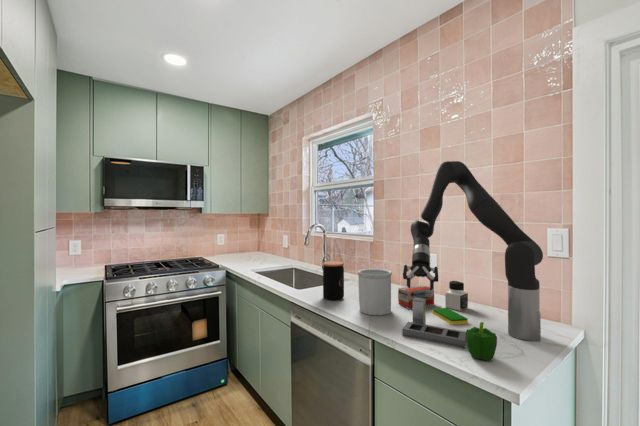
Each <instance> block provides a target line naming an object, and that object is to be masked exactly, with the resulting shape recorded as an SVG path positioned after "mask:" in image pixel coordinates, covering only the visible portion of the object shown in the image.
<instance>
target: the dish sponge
mask: <svg viewBox="0 0 640 426" xmlns="http://www.w3.org/2000/svg"><path fill="white" fill-rule="evenodd" d="M432 314H433V316H436V317H438V318H439V319H441V320H443V321H444V322H446V323H448V324H450V325H451V326H456V325H467V324H468V323H469V321H468V319H469V318H468V317H465V316H463V314H460V313H458V312H455V311H454V310H453V309H450V308H446V307H443V308H432Z"/></svg>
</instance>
